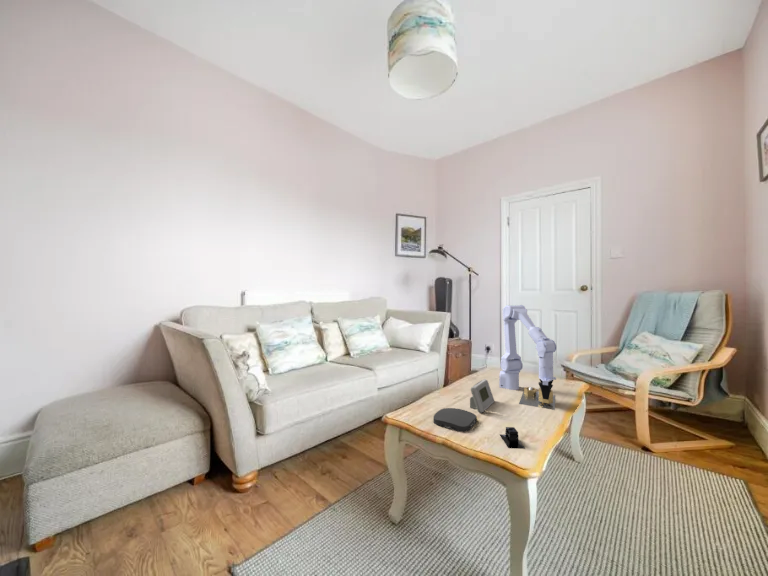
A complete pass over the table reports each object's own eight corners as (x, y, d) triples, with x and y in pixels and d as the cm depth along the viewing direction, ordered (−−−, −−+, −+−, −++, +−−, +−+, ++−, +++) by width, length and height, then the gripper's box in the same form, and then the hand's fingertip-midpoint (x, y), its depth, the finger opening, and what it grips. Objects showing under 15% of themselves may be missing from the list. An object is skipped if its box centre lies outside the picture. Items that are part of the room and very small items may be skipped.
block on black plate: (495, 433, 111) (495, 421, 111) (516, 434, 111) (516, 422, 111) (507, 452, 99) (507, 437, 99) (530, 452, 98) (530, 438, 98)
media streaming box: (445, 411, 131) (445, 404, 131) (479, 420, 122) (479, 412, 122) (429, 424, 119) (430, 416, 119) (466, 434, 110) (466, 426, 110)
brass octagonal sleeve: (538, 401, 136) (538, 390, 136) (539, 398, 141) (539, 387, 141) (552, 404, 133) (552, 392, 134) (552, 400, 138) (553, 389, 138)
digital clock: (481, 415, 127) (481, 389, 127) (462, 408, 134) (462, 384, 134) (500, 405, 137) (500, 381, 137) (482, 399, 144) (482, 377, 144)
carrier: (519, 405, 137) (519, 396, 137) (523, 392, 154) (523, 384, 154) (554, 411, 130) (554, 402, 130) (555, 397, 147) (555, 389, 147)
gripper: (556, 371, 129) (556, 403, 129) (556, 364, 142) (556, 393, 141) (537, 369, 132) (537, 400, 132) (539, 362, 145) (539, 391, 145)
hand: (545, 396), depth 137 cm, fingers closed on brass octagonal sleeve, 6 cm apart
